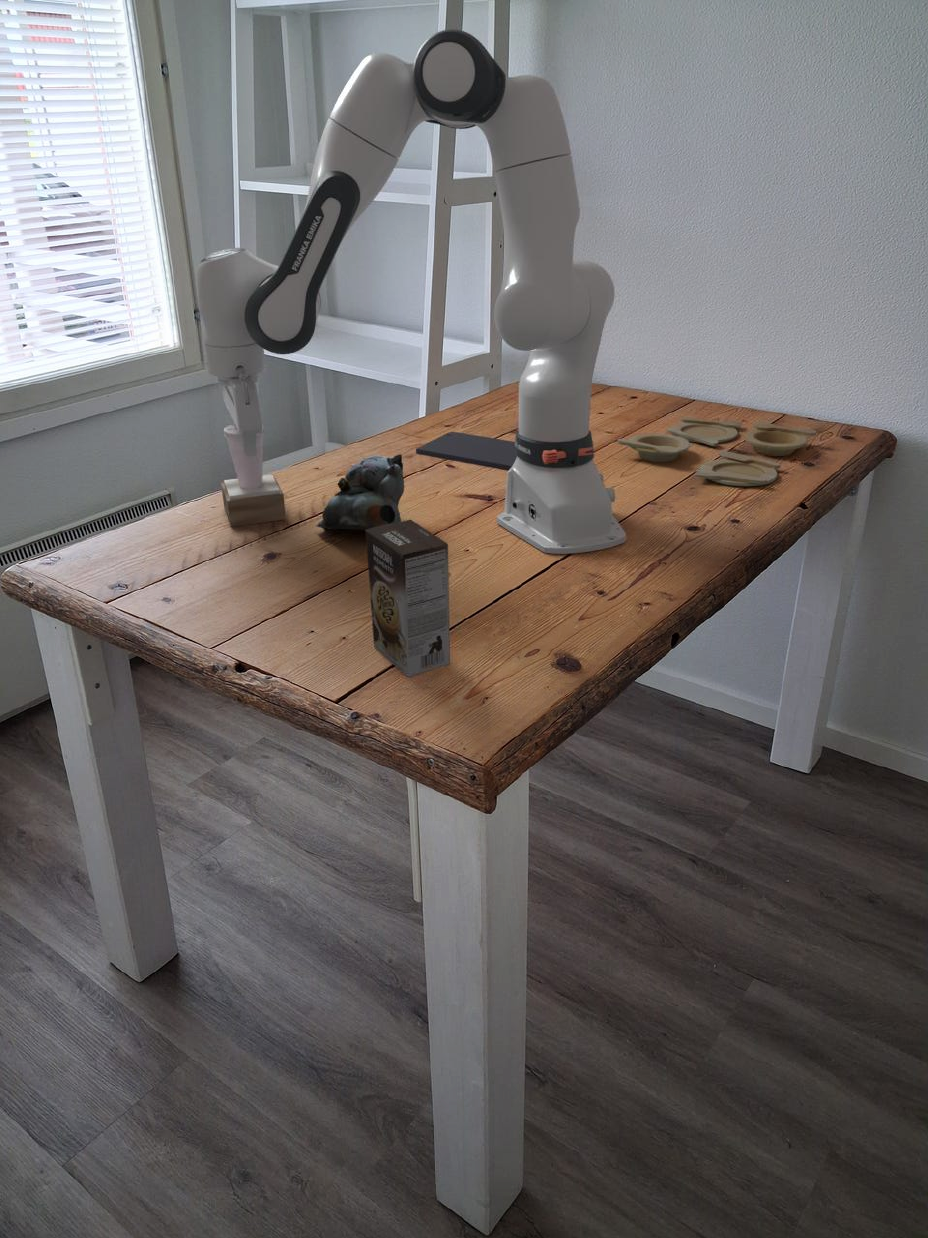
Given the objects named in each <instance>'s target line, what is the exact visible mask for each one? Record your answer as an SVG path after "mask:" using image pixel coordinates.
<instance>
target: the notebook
mask: <svg viewBox="0 0 928 1238" xmlns="http://www.w3.org/2000/svg"><path fill="white" fill-rule="evenodd" d="M415 454H416V455H422V456H427V457H432V458H438V459H444V460H448V461H455V462H459V463H464V464H471V465H475V466H482V467H488V468H491V469H498V470H504V471H507V472H508V471H509V470H510V468H511V467H512V466H513V464H514V462H515V460H516V458H517V455H516V453H515V441H511V440H508V439H507V440H506V439H499V438H494V437H488V436H481V435H475V434H469V433H464V432H463V433H462V432H457V431H449V432H446V433H444V434H443V435H440V436H439V437H437V438H434V439H433V440H431V441H428V442H426V443H425V444H423V445H420V446H419V447H417V448H415Z"/></svg>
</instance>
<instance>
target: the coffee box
mask: <svg viewBox="0 0 928 1238" xmlns="http://www.w3.org/2000/svg"><path fill="white" fill-rule="evenodd" d="M364 531H365V537H366V538H365V539H366V551H367V552H366V554H367V567H368V570H367V571H368V579H369V594H370V595H369V598H370V610H371V620H372V621H371V622H372V637H373V647H374V648H375V649H376V651H378V652H379V653H380V654H381V655H382V656H384V657H385V658H386V659H387V660H388V661H389V662H390V663H391V664H393V665H394V666H395V667H396V668H397V669H398V670H399V671H400V672H402V674H404V675H405V676H406V677H409V678H410V677H412V676H416V675H419V674H422V673H425V672H427V671H428V672H429V671H431V670H434V669H437V668H441V667H444V666H446V665H450V664H451V653H450V652H451V648H450V647H451V646H450V645H451V643H450V641H451V640H450V638H451V637H450V633H451V632H450V631H451V630H450V589H449V588H450V586H449V585H450V581H449V578H450V577H449V576H450V575H449V573H450V571H449V570H450V569H449V543H447V542H446V541H445V540H443V539H441V538H440V537H439V536H436V535H435V534H433V533H432V532H430V531H429V530H428V529H426V528H424V527H423V526H421V525H420V524H418V523H417V522H415V521H413V519H407V520H403V521H402V520H401V522H399V523H391V524H385V525H382V526H378V527H374V528H370V529H367V530H364Z"/></svg>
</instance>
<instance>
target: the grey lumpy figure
mask: <svg viewBox="0 0 928 1238" xmlns="http://www.w3.org/2000/svg"><path fill="white" fill-rule="evenodd" d="M402 461H403V455H402V454H401V453H400V454H398V453H397V454H396V455H394V456H393V457H388V456H386V455H372V456H369V457H363V459H362V460H361V461H359V462H357V463H355V464H353V465H352V466H351V467H350V468H349V470H348V471H347V472H346V474H345V476H344V477H341V478H339V480H338V483H337V487H338V488H339V490H340V491H338V492H336V493H335V494H334V496H333V497H332V498H330V499H329V500H328V502H327V504H326V506H325V508H324V509H323V512H322V516H321V517H322V519H321V520H320V521H319V522H318V523H317V524H315V526H316V527H318V528H320V529H323V530H324V531H327V530H330V529H331V530H335V529H336V530H337V529H338V530H361V531H365V530H367V529H370V528H374V527H378V526H382V525H385V524H391V523H399V522H402V519H401V513H400V510H399V505H400V504H399V503H400V500H401V498H402V496H403V495H404V491H405V477H404V475H403V472H404V470H403V469H404V464H403V462H402Z"/></svg>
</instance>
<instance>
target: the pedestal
mask: <svg viewBox="0 0 928 1238" xmlns="http://www.w3.org/2000/svg"><path fill="white" fill-rule="evenodd" d="M220 486H221V493H222V499H223V500H222V501H223V507H224V512H225V514H226V517H227V519H228V523H229V526H230V527H231V528H232V527H240V526H247V525H254V524H261V523H268V522H276V521H284V520H285V521H286V520H287V515H286V514H287V513H286V504H285V495H284V492H283V490H282V488H281V487H280V484H279V482H278V480H277V478H276V476H273V474H264V475H263V474H262V486H260V487H258V488H254V489H243V488H241V487H240V486H239V482H238V478H232V479H224V480H223V482H220Z"/></svg>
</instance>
